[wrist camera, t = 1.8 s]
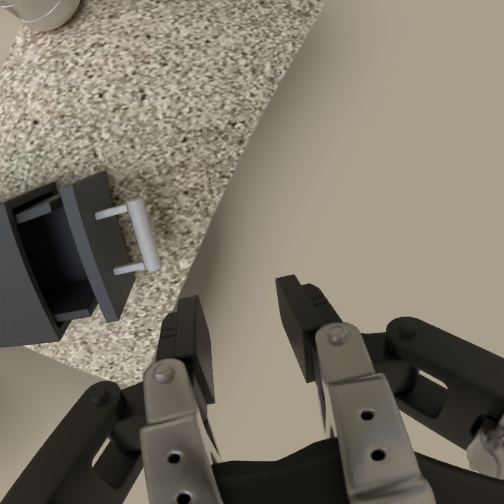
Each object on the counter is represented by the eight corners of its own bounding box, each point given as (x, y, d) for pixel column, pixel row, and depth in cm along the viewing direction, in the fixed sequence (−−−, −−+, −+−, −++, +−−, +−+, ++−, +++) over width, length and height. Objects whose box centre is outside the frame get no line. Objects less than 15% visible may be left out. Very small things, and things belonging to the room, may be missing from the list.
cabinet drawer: (146, 159, 26) (125, 167, 19) (175, 270, 30) (167, 312, 23) (10, 205, 25) (-32, 227, 18) (43, 297, 29) (14, 336, 22)
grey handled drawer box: (54, 181, 26) (3, 202, 17) (90, 290, 31) (60, 341, 22) (-25, 215, 25) (-74, 242, 16) (10, 306, 30) (-25, 349, 21)
